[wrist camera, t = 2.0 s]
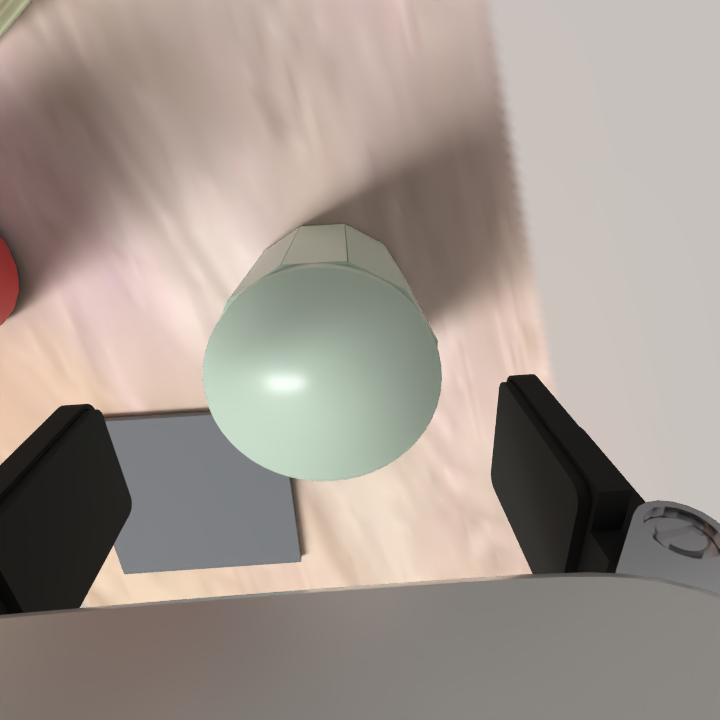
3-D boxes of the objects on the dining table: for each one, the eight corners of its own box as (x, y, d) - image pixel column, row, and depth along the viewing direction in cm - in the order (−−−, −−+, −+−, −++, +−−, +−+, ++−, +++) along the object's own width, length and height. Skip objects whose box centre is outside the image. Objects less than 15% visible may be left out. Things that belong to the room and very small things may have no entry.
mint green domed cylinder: (406, 370, 24) (438, 473, 16) (261, 379, 24) (224, 488, 16) (405, 220, 21) (445, 261, 13) (238, 229, 21) (179, 276, 13)
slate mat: (301, 556, 29) (300, 561, 29) (126, 568, 29) (124, 574, 29) (280, 406, 25) (279, 410, 24) (73, 419, 25) (69, 423, 24)
